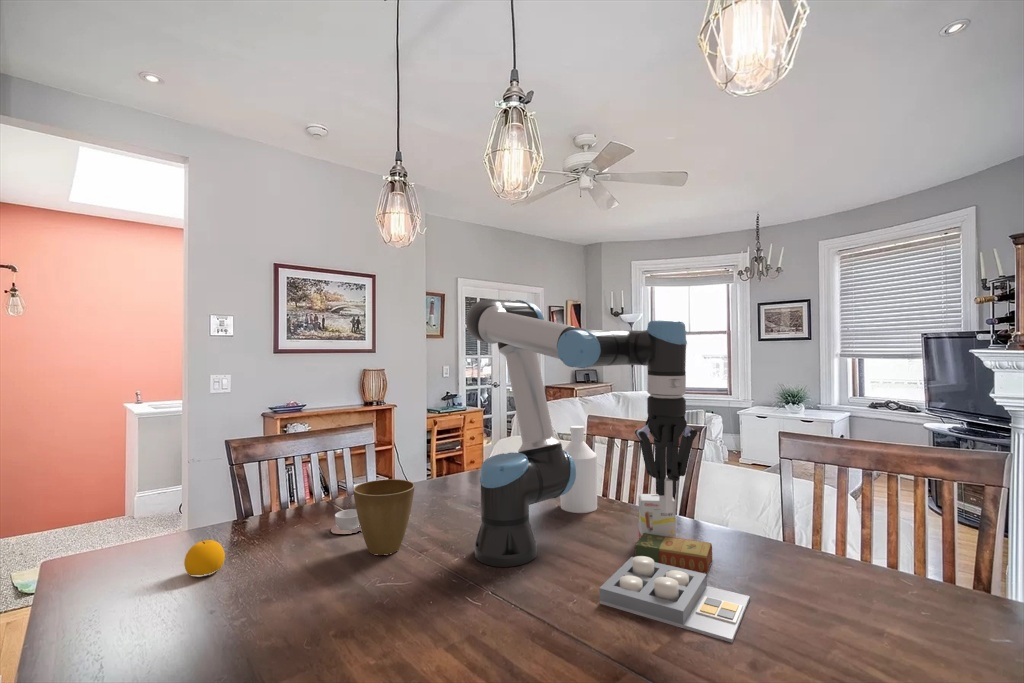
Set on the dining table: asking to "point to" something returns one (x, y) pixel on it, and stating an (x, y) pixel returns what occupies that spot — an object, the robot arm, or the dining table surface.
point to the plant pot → (383, 513)
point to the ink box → (655, 517)
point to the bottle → (581, 475)
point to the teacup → (347, 519)
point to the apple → (204, 558)
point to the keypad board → (679, 602)
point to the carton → (676, 552)
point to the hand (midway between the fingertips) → (665, 510)
